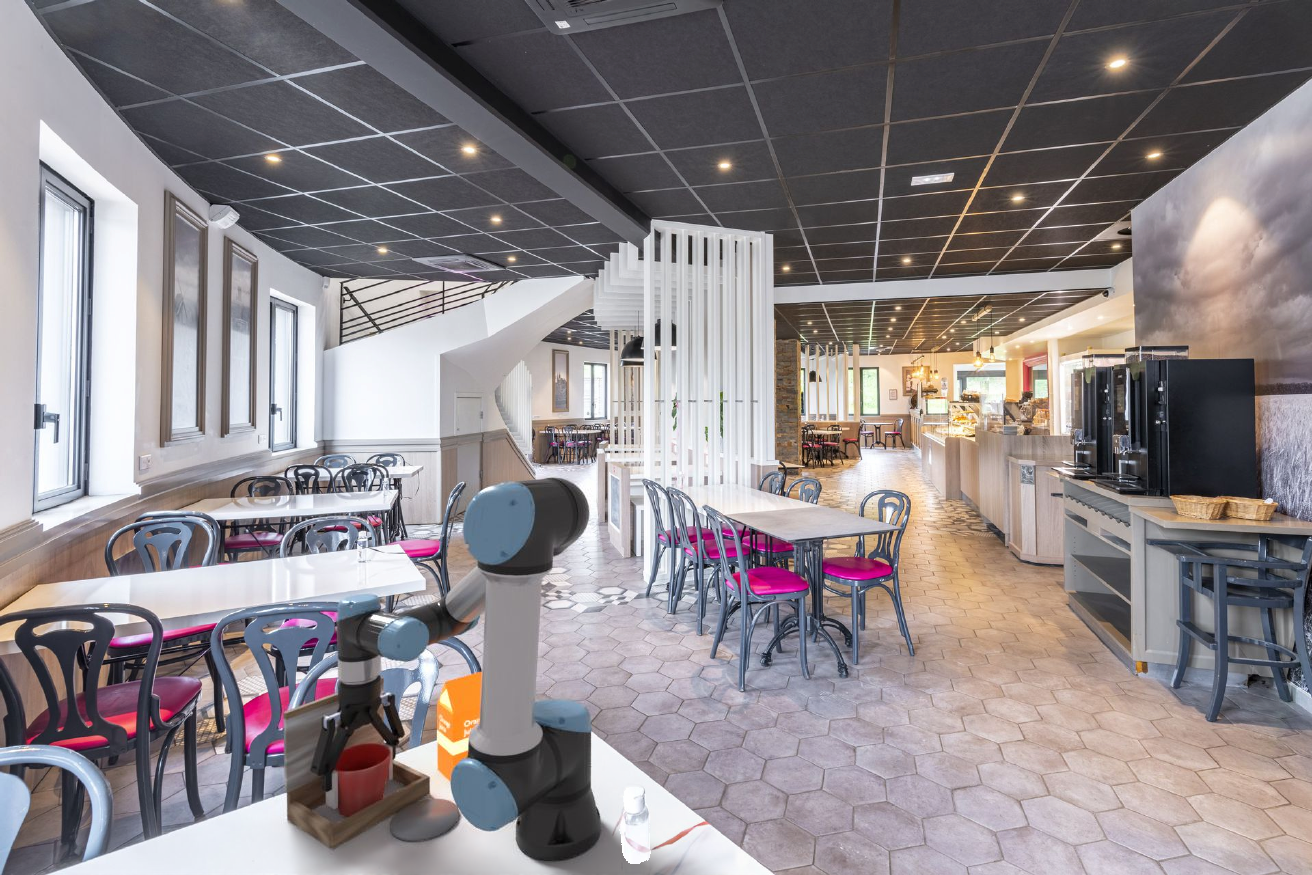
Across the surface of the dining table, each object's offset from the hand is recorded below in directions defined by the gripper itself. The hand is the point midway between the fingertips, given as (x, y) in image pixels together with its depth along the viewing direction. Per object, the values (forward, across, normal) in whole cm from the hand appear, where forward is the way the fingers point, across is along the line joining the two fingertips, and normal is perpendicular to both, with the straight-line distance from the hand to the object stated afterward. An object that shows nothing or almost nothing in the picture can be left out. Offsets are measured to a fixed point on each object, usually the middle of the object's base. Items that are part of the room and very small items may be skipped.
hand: (360, 790), depth 125 cm
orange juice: (+3, -20, +6) cm, 21 cm away
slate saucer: (+3, -4, +14) cm, 15 cm away
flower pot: (+3, 0, 0) cm, 3 cm away
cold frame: (+3, 0, -1) cm, 3 cm away
